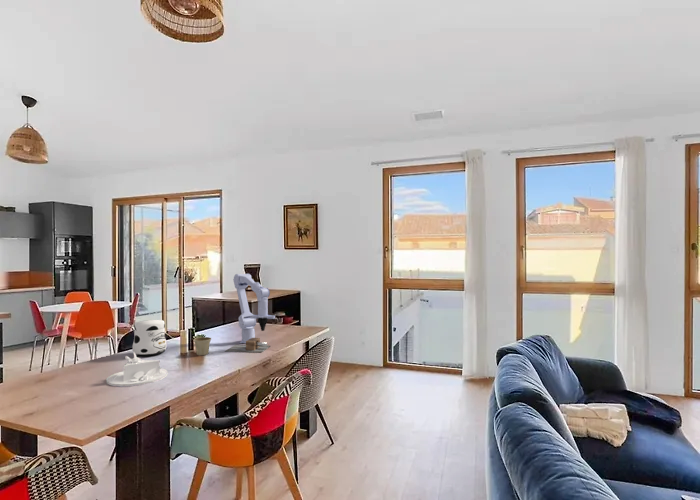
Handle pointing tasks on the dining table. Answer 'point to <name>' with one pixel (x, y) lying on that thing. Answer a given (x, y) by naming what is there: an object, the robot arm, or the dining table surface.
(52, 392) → the dining table surface
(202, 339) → the flower pot
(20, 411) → the dining table surface
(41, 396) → the dining table surface
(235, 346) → the hitch block
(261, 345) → the pin
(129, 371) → the dish
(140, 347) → the milk container
